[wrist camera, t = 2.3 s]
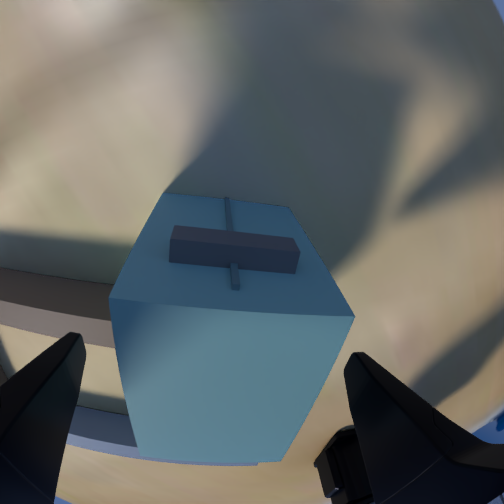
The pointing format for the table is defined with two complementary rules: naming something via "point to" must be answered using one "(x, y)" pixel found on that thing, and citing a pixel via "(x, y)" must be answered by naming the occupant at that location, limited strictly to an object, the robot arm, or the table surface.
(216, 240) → the blue block with grip
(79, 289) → the u-shaped bar frame
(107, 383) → the table surface
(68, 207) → the table surface
